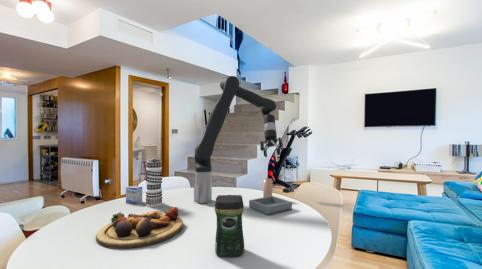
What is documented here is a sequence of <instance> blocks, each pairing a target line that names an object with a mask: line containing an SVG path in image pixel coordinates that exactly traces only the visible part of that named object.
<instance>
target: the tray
mask: <svg viewBox="0 0 482 269" xmlns="http://www.w3.org/2000/svg"><path fill="white" fill-rule="evenodd" d="M292 205H293V201H290V200H287V199H284V198H281V197H277V196H274V195H272V196H268V197H259V198H253V199H249V200H248V208H249V209H251V210H253V211H255V212H259V213H260V214H263V215H265V216H273V215H276V214H281V213H284V212H288V211H292V210H293V209H292V208H293V206H292Z"/></svg>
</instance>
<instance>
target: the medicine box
mask: <svg viewBox="0 0 482 269" xmlns="http://www.w3.org/2000/svg"><path fill="white" fill-rule="evenodd" d="M142 202H143V186H135V185H131V186H127V187H125V203H128V204H137V205H138V204H141V203H142Z"/></svg>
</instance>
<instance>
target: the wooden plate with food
mask: <svg viewBox="0 0 482 269" xmlns="http://www.w3.org/2000/svg"><path fill="white" fill-rule="evenodd" d="M183 226H184V221H183V219H182V218H181V217H180V216H179V209H178V207H177V206H172V207H170V208H168V209H167V211H165V212H164V213H162V212H161V211H159V210H151V211H148V212H146V213H140V214H133V213H128V216H126V217H125V214H124V213H123V212H122V211H121V212H117V213H115V214H112V217H111V219H110V222H108V224H105V225H103V226H102V227H101V228H100V229H99V230H98V231H97V232H96V234H95V241H96V242H97V243H98V245H100V244H101V246H102V245H103V247H105V246H106V248H109V247H111V248H112V249H134V248H141V247H147V246H150V245H154V244H158V243H161V242H163V241H166V240H168V239H170V238H172V237H174V236H175V235H177V234H178V233H179V232H180V231H181V230H182V229H183ZM111 248H110V249H111Z"/></svg>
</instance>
